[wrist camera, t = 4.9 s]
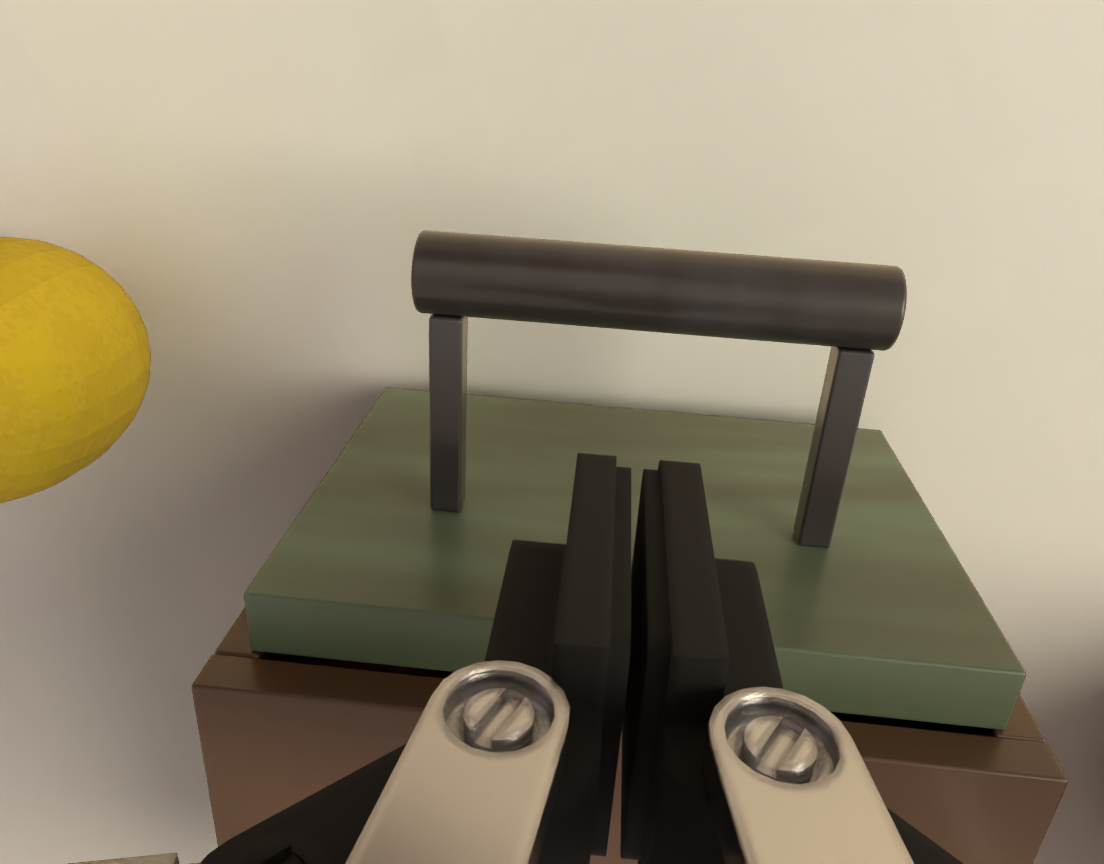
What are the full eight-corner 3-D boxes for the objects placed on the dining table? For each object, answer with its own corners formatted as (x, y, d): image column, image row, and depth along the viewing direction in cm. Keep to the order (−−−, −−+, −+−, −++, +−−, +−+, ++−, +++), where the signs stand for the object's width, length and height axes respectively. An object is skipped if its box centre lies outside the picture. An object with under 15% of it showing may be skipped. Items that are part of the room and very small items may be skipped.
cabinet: (374, 412, 23) (190, 685, 14) (885, 458, 22) (1070, 781, 13) (389, 818, 30) (274, 1189, 20) (782, 863, 29) (853, 1272, 20)
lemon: (-37, 225, 22) (-366, 323, 15) (161, 190, 21) (-86, 277, 14) (52, 420, 24) (-197, 588, 17) (234, 396, 23) (54, 562, 16)
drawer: (378, 171, 19) (202, 272, 12) (935, 212, 19) (1153, 348, 11) (399, 793, 28) (305, 1096, 20) (780, 837, 27) (838, 1169, 19)
